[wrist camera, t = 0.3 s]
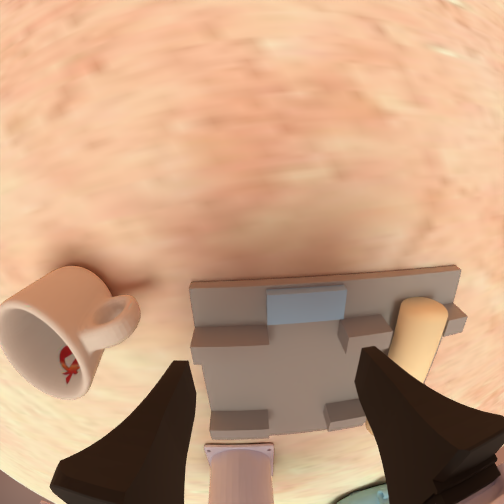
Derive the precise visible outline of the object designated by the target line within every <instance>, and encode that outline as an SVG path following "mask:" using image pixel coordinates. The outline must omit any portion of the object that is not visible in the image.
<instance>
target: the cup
mask: <svg viewBox="0 0 504 504" xmlns="http://www.w3.org/2000/svg"><path fill="white" fill-rule="evenodd" d="M139 320H140V308H139V305H138V303H137V301H136V299H135V298H134V297H132V296H131V295H119V296H115V297H112V295H111V293H110V291H109V289H108V288H107V286H106V285H105V283H104V282H103V281H102V280H101V279H100V278H99V277H98V276H97V275H95V274H94V273H93V272H91V271H89V270H87V269H85V268H83V267H79V266H65V267H61V268H59V269H56V270H54V271H52V272H51V273H49V274H47V275H46V276H44V277H42V278H41V279H39V280H37V281H36V282H34V283H32V284H31V285H29V286H27V287H26V288H24V289H23V290H21V291H19V292H18V293H16V294H15V295H13V296H12V297H10V298H8V299H7V300H5V301H4V302H3V303H2V304H1V305H0V346H1V348H2V351H3V352H4V354H5V356H6V357H7V359H8V361H9V362H10V363H11V365H12V366H13V367H14V368H15V370H16V371H17V372H18V373H19V374H20V375H21V376H22V377H23V378H24V379H25V380H26V381H28V382H29V383H30V384H31V385H33V386H34V387H35V388H37V389H39V390H40V391H42V392H44V393H46V394H48V395H50V396H52V397H55V398H59V399H64V400H75V399H78V398H81V397H82V396H84V395H85V394H86V393H87V392H88V390H89V388H90V386H91V384H92V381H93V378H94V375H95V373H96V370H97V367H98V365H99V362H100V360H101V357H102V354H103V352H104V349H105V348H109V347H112V346H115V345H117V344H119V343H121V342H123V341H124V340H126V339H127V338H128V337H129V336H130V335H131V334H132V333H133V332H134V330H135V329H136V327H137V325H138V323H139Z"/></svg>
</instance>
